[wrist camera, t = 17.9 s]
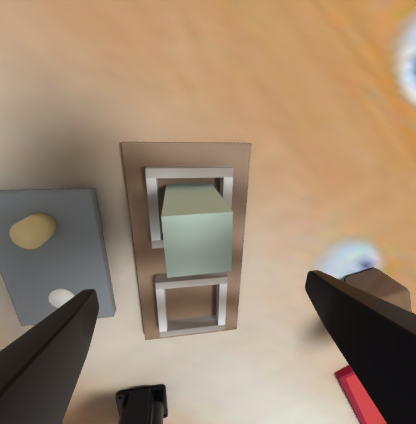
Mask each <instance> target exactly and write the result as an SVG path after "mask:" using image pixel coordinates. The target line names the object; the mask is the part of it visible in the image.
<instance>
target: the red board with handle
mask: <svg viewBox="0 0 416 424" xmlns="http://www.w3.org/2000/svg"><path fill="white" fill-rule="evenodd" d="M335 373H336V375H337V377H338V379H339V381H340V383H341V385H342V387H343V389H344V391H345V393H346V395H347V397H348V399H349V401H350V403H351V405H352V407H353V409H354V411H355V413H356V415H357V417H358V419H359V421H360V423H361V424H387V423H386V422H385V420H384V418H383V417H382V415H381V414H380V412H379V411H378V409H377V408H376V406H375V404H374V403H373V401H372V400H371V398H370V397H369V395H368V393H367V392H366V390H365V389H364V387H363V386H362V384H361V383H360V381H359V379H358V378H357V376H356V375H355V373H354V372H353V370H352V368H351V367H350V365H348V366H346V367H344V368H343V369H341V370H339V371H337V372H335Z"/></svg>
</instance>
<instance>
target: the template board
mask: <svg viewBox="0 0 416 424" xmlns="http://www.w3.org/2000/svg"><path fill="white" fill-rule="evenodd" d="M0 272H1V275H2V277H3V280H4V282H5V285H6V288H7V290H8V293H9V295H10V298H11V301H12V303H13V306H14V308H15V311H16V314H17V316H18V319H19V321H20V324H21V326H26V325H36V324H38V323H39V322H40V321H42V320H43V319H45V318H46V317H47V316H49V315H50V314H51V313H53V312H54V311H55V310H57V309H58V308H59V307H61V306H62V305H63V304H65V303H66V302H67V301H69V300H70V299H71V298H73V297H74V296H75V295H77V294H78V293H79V292H81V291H82V290H85V289H95V290H96V293H97V298H98V302H99V312H98V316H97V318H104V317H114V314H115V311H116V306H115V301H114V295H113V289H112V284H111V278H110V272H109V267H108V261H107V255H106V249H105V244H104V238H103V232H102V227H101V221H100V215H99V209H98V204H97V198H96V192H95V188H87V189H39V190H0Z"/></svg>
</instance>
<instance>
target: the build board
mask: <svg viewBox="0 0 416 424" xmlns="http://www.w3.org/2000/svg"><path fill="white" fill-rule="evenodd" d="M121 144H122V152H123V160H124V168H125V177H126V185H127V193H128V201H129V209H130V218H131V226H132V234H133V242H134V251H135V259H136V267H137V275H138V283H139V292H140V300H141V308H142V316H143V325H144V333H145V340H150V339H158V338H167V337H175V336H183V335H192V334H200V333H208V332H217V331H225V330H233V329H237V317H238V304H239V291H240V279H241V266H242V254H243V241H244V228H245V216H246V203H247V190H248V178H249V165H250V152H251V143H189V142H121ZM204 182H211V183H212V184H213V186H214V187H215V188H216V190H217V191H218V192H219V194H220V195H221V196H222V198H223V199H224V200H225V202H226V203H227V204H228V206H229V207H230V208H231V210H232V211H233V231H232V267H231V271H228V272H219V273H209V274H199V275H190V276H180V277H170V278H167V271H166V261H165V251H164V241H163V231H162V220H161V214H162V208H163V202H164V196H165V191H166V185H167V184H182V183H204Z"/></svg>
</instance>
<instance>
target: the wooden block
mask: <svg viewBox="0 0 416 424" xmlns="http://www.w3.org/2000/svg"><path fill="white" fill-rule="evenodd" d="M345 283H348V284H350V285H352V286H354V287H356V288H359V289H361V290H363V291H365V292H367V293H370V294H372V295H374V296H376V297H379V298H381V299H383V300H385V301H387V302H390V303H392V304H394V305H396V306H398V307H401V308H403V309H405V310H407V311H409V312H412V311H411V300H410V292H409V290H408V289H407V288H406V287H404V286H403V285H401V284H400V283H398V282H397V281H395V280H394V279H392V278H391V277H389V276H388V275H386V274H385V273H383V272H381V271H380V270H378V269H376V268H373V269H369V270H366V271H363V272H360V273H357V274H354V275H350V276H347V277H346V278H345Z"/></svg>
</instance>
